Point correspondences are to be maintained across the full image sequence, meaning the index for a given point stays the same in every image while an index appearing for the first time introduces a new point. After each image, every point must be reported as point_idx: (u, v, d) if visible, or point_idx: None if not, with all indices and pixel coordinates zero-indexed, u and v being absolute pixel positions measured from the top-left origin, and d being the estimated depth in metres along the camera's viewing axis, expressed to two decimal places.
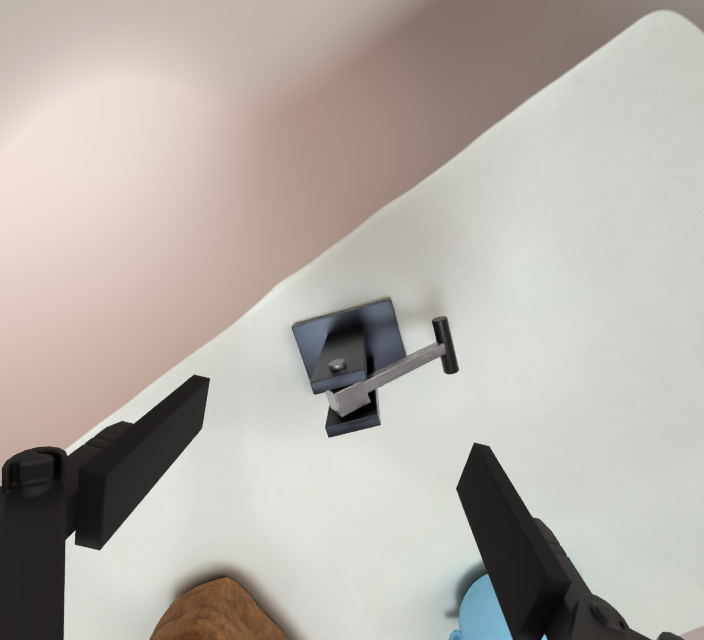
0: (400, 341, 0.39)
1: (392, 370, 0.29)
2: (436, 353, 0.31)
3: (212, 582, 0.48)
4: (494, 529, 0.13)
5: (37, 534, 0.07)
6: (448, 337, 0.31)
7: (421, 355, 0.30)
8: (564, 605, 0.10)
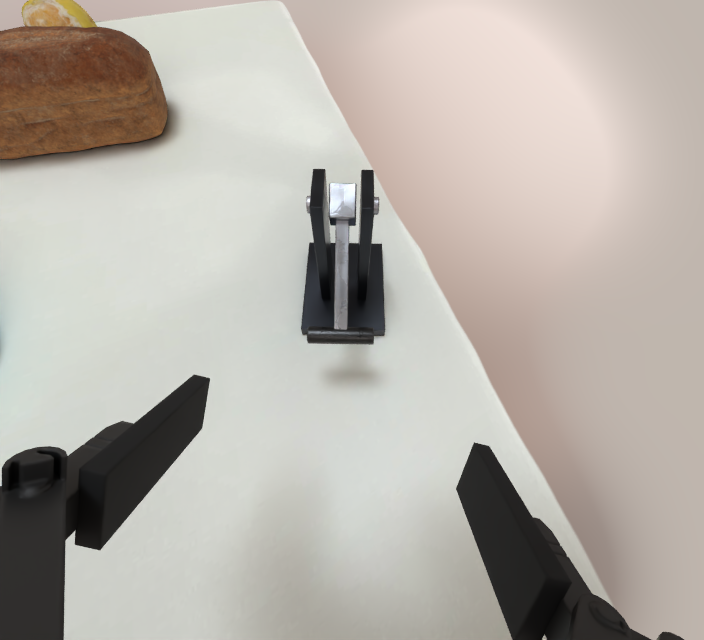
0: None
1: (345, 257, 0.28)
2: (340, 316, 0.28)
3: (164, 121, 0.52)
4: (494, 529, 0.13)
5: (37, 534, 0.07)
6: (351, 335, 0.27)
7: (346, 296, 0.28)
8: (564, 605, 0.10)
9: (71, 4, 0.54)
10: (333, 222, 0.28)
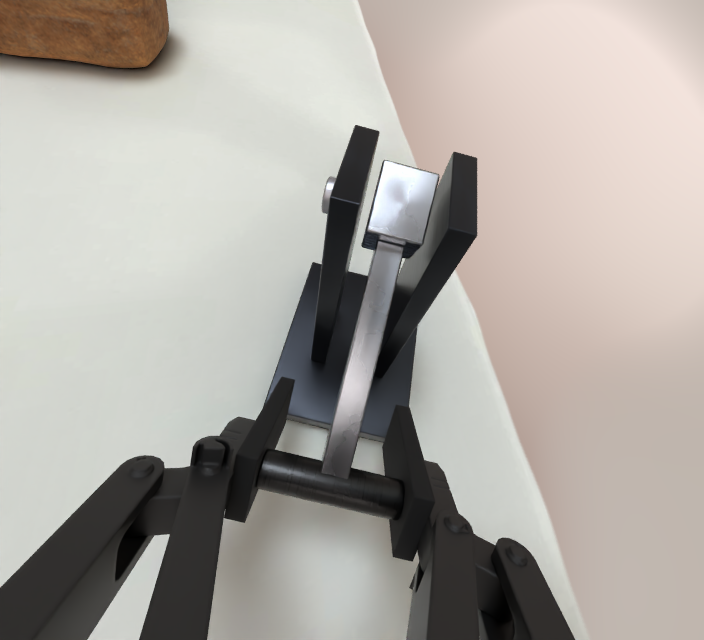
0: (324, 420, 0.20)
1: (380, 322, 0.13)
2: (339, 447, 0.12)
3: (156, 51, 0.37)
4: (395, 471, 0.14)
5: (206, 509, 0.09)
6: (355, 497, 0.12)
7: (362, 407, 0.13)
8: (429, 520, 0.11)
9: None
10: (369, 243, 0.14)
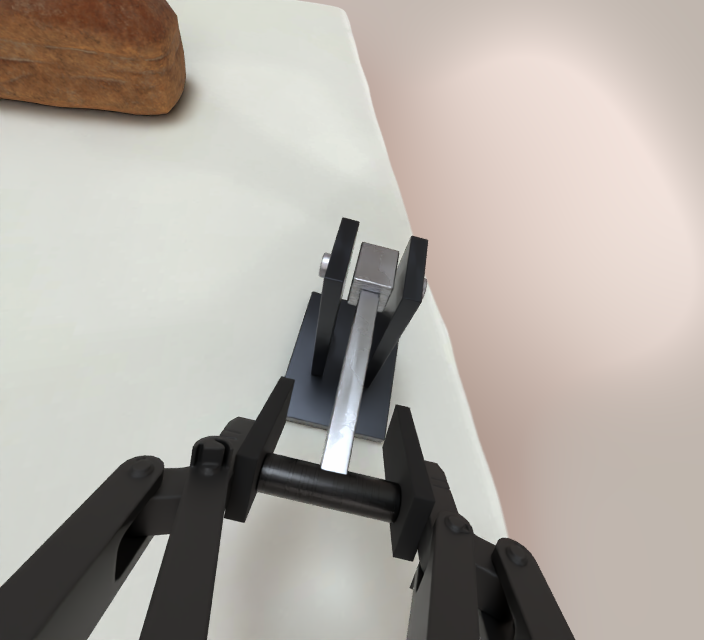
0: (321, 422, 0.26)
1: (366, 342, 0.16)
2: (338, 443, 0.14)
3: (176, 100, 0.43)
4: (395, 471, 0.14)
5: (205, 509, 0.09)
6: (355, 490, 0.13)
7: (356, 407, 0.15)
8: (429, 520, 0.11)
9: None
10: (354, 295, 0.19)
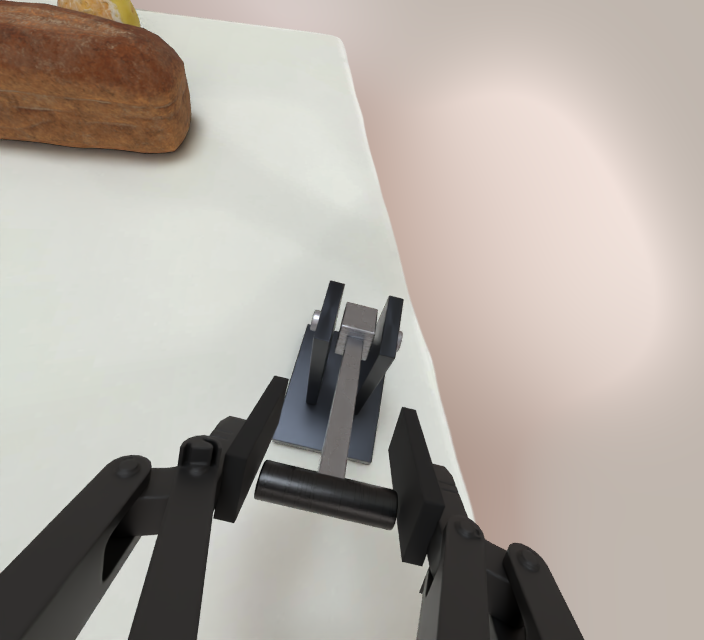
0: (315, 447, 0.29)
1: (355, 374, 0.18)
2: (334, 452, 0.14)
3: (182, 138, 0.46)
4: (403, 475, 0.14)
5: (194, 509, 0.09)
6: (353, 489, 0.13)
7: (349, 422, 0.16)
8: (439, 525, 0.11)
9: None
10: (341, 343, 0.21)
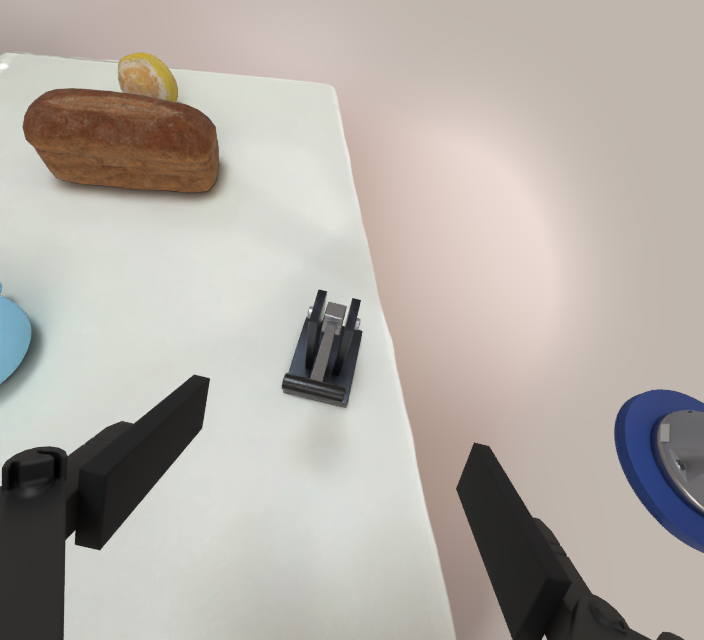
0: None
1: (330, 339, 0.35)
2: (317, 371, 0.31)
3: (214, 181, 0.62)
4: (494, 529, 0.13)
5: (37, 534, 0.07)
6: (325, 384, 0.29)
7: (326, 360, 0.32)
8: (564, 605, 0.10)
9: (161, 67, 0.66)
10: (324, 325, 0.38)
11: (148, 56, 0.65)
